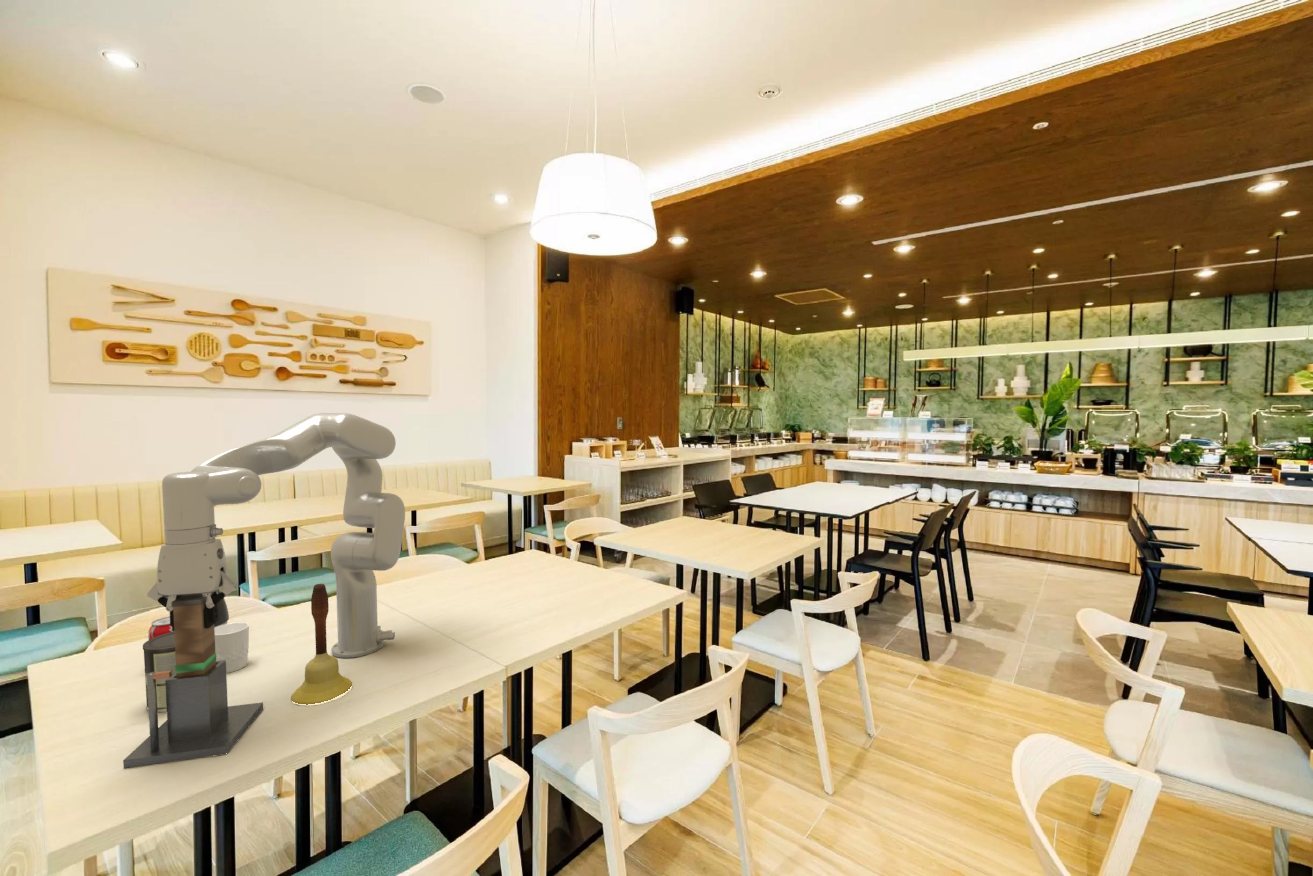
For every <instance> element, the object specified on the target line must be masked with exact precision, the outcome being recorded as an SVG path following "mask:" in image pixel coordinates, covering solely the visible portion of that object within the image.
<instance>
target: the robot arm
mask: <svg viewBox="0 0 1313 876" xmlns="http://www.w3.org/2000/svg"><path fill="white" fill-rule="evenodd" d="M328 448H332V451H334V453H335V454H336V455H337V456H338V457H339V459H340V460H341V461H342V462H343V464H344V467H345V468H346V472H347V473H346V474H347V477H346V478H347V481H346V489H345V495H344V503H343V511H342V512H343V513H342V515H343V516H342V517H343V521H344V522H345V523H346V524H347V525H349V526H351V527H355V528H356V527H357V528H365V529H366V528H369V529H374V531H373V532H359V531H351V532H350V531H349V532H346V533H342V534H341V535H339V536H337V537H336V539H334V541H332V544H331V547H330V558H331V559H330V560H331V563H332V566H333V570H334V575H335V584H336V585H335V586H336V587H335V588H336V616H337V617H336V618H337V621H336V623H337V624H336V625H337V642H336V643H335V644H334V645H332V646H331V650H330V651H331V654H332V656H334V657H335V658H341V659H342V658H343V659H346V658H347V659H348V658H350V657H351V658H358V657H363V656H366V655H369V654H372V653H374V651H375V652H376V650H377V651H378V650H380V649H381V648H383V646H384V645H385V641H390V640H391V641H393V640H395V638H396V632H395V631H394V632H393V630H392V629H390V630H389V629H388V630H383V629H382V626H381V625H378V623H379V622H378V597H377V596H378V595H377V594H378V593H377V591H378V590H377V589H378V588H377V587H378V585H377V579H376V574H375V572H374V571H377V572H378V571H379V572H382V571H388V570H390V569H392V568H394V567H395V566H396V564H397V562H398V561H399V558H400V555H401V551H402V546H403V545H402V544H403V535H404V527H405V520H406V508H405V505H404V504H405V503H404V501H403V500H402V498H401V497H400V496H399V495H397V494H395V493H389V492H382V491H383V490H382V489H383V488H382V487H383V470H382V467H381V465H380V463H379V461H378V460H383V459H386V458H388V457H390V456H391V455H392V454H393V453H394V451H395V449H396V438H395V435H394V434H393V432H392V431H391V430H390V429H388V428H387V427H385V426H383V425H381V424H378V423H376V422H373V421H371V420H368V419H366V418H363V417H361V416H358V415H356V414H352V413H346V412H318V413H314V414H312V415H309V416H307V417H305V418H304V419H301V420H299V421H298V422H296V423H294V424H293V425H290V426H288V427H287V428H285V429H284V430H281V431H280V432H277V433H275V434H274V435H272V436H270V437H267V438H263V439H259V440H257V441H253V442H252V443H249V444H248V443H247V444H245V445H243V446H239V447H236V448H233V449H230V450H227V451H225V452H222V453H220V454H218V455H216V456H214V457H212V458H210V459H207V460H206V461H204V462H203V463H201V464H199V465H197V466H195V467H194V468H193V469H192V470H190V471H179V472H173V473H169V474H167V475H165V476H164V477H163V479H162V480H161V488H162V489H161V491H162V492H161V493H162V505H163V506H162V509H163V511H162V513H163V528H164V531H163V532H164V543H163V544H161V547H160V550H159V554H158V560H157V567H156V582H155V583H154V585H153V586H152V587H151V589H150V590H149V591H148V592H147V595H146V596H147V597H149V599H152V600H154V601H157V603H158V604H160V605H162V606H163V607H164V608H165V611H167V612H169V617H170V625H171V626H172V631H174V614H173V607H172V601H174V600H176V599H177V598H179V597H181V596H183V595H192V594H202V595H203V598H204V601H205V604H206V608H205V609H204V610H203V612H204V628H205V629H207V628H210V627H211V626H213V625H214V624H215V623H216V621H217V620H218V605H217V604H218V603H219V602H220V601H221V600H222V599H223V598H224V599H225V597H226V596H228V595H229V594H231V593H232V592H234V591H235V590H236V589H237V588H238V586H237V584H236V583H234V581H233V580H232V579H231V578H230V577H229V573H228V563H227V558H226V557H227V556H226V553H225V549H224V546H223V542H222V540H221V538H217V536H222V535H223V534H224V528H223V527H221V528H220V527H217V524H216V520H215V517H216V516H215V507H216V506H221V505H239V504H244V503H247V502H250V501H252V500H253V499H255V498H256V497H257V496H258V495H259V493H260V492H261V489H262V480H261V478H260V476H263V475H266V474H274V473H280V472H285V471H288V470H292V469H295V468H297V467H299V466H301V465H302V464H303V463H305V462H306V461H308V460H310V459H311V458H312V457H315V456H316V455H318V454H320V453H321V452H323V451H324V450H326V449H328ZM222 587H223V589H222V590H220V593H218V591H217V590H218V589H219V588H222Z"/></svg>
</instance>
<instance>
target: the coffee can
mask: <svg viewBox="0 0 1313 876" xmlns="http://www.w3.org/2000/svg"><path fill="white" fill-rule="evenodd" d="M142 650H143V660H144V676H145V677H144V678H145V679H144V681H145V697H146V698H145V699H146V707H145V709H146V710H147V711H148V712H149V708H148V688H147V674H148V673H150V672H162V671H172V675H173V674H174V673H175V672H176V670H175V665H176V656H175V635H174V632H171V633H167V634H163V635H160V636H157V637H154V638H152V639H150V640H147V641H145V642H144V643H143V644H142ZM167 679H168V678H162V679H156V691H157V711H158V713H167V705H166V685H165V680H167Z"/></svg>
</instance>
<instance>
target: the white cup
mask: <svg viewBox="0 0 1313 876" xmlns="http://www.w3.org/2000/svg"><path fill="white" fill-rule="evenodd" d="M214 631H215V652H216V661H222V660H226V674H228V673H232V672H235V671H239V670H241V669H243V668H245V667H246V666H247V665H248V661H249V660H248V658H249V655H248V654H249V647H250V646H249V645H250V643H249V642H250V641H249V640H250V624H249V623H248V622H243V621H240V622H239V621H238V622H231V623H227V624H225V625H221V626H218V627H216V628H214Z"/></svg>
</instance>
